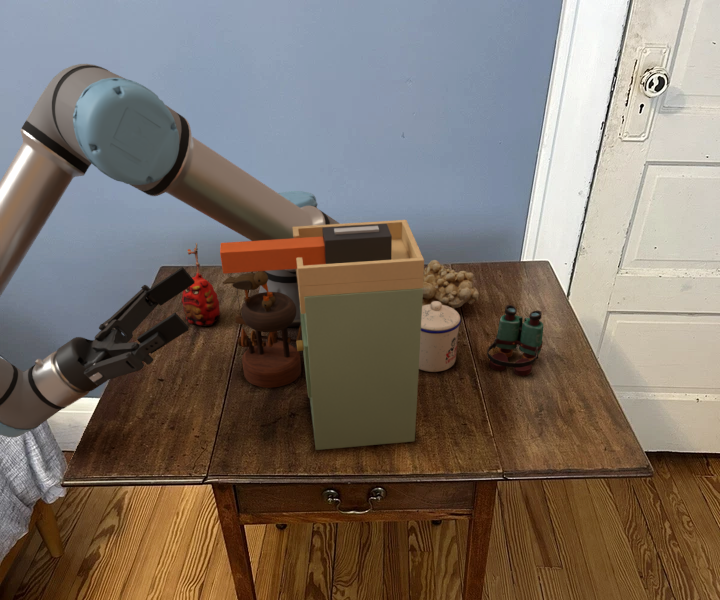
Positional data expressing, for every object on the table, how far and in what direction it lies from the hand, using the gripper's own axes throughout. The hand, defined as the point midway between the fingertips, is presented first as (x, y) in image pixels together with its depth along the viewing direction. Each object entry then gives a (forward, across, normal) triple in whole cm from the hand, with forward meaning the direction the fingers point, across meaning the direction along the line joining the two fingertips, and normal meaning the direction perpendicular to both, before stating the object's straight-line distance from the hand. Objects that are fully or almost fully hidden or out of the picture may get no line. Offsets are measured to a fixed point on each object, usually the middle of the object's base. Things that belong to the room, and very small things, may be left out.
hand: (185, 296), depth 95 cm
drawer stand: (+9, 0, +33) cm, 34 cm away
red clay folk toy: (-15, +38, +20) cm, 45 cm away
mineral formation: (+28, +36, +44) cm, 64 cm away
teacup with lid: (+23, +18, +41) cm, 50 cm away
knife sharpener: (+17, 0, +5) cm, 18 cm away
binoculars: (+35, +12, +48) cm, 61 cm away
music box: (-3, +16, +27) cm, 31 cm away
